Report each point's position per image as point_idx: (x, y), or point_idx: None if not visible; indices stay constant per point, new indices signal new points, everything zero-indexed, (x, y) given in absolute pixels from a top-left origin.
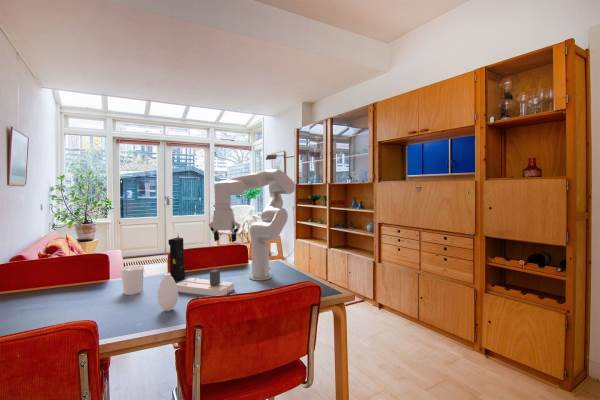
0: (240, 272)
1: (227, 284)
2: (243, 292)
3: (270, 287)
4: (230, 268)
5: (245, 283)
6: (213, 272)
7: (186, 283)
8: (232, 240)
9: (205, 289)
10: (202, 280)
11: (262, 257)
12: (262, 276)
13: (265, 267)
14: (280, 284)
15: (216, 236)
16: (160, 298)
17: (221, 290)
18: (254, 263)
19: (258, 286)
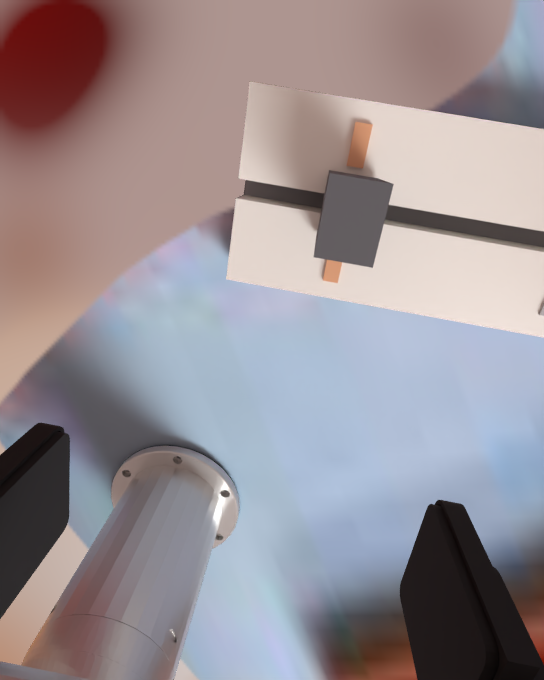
0: (322, 568)
1: (257, 233)
2: (168, 244)
3: (55, 348)
4: (406, 627)
5: (221, 398)
6: (350, 177)
7: None
8: (27, 436)
9: (389, 105)
10: (483, 298)
11: (83, 573)
12: (142, 474)
13: (106, 522)
14: (25, 400)
15: (446, 604)
16: None
17: (249, 90)
18: (163, 538)
19: (126, 357)
